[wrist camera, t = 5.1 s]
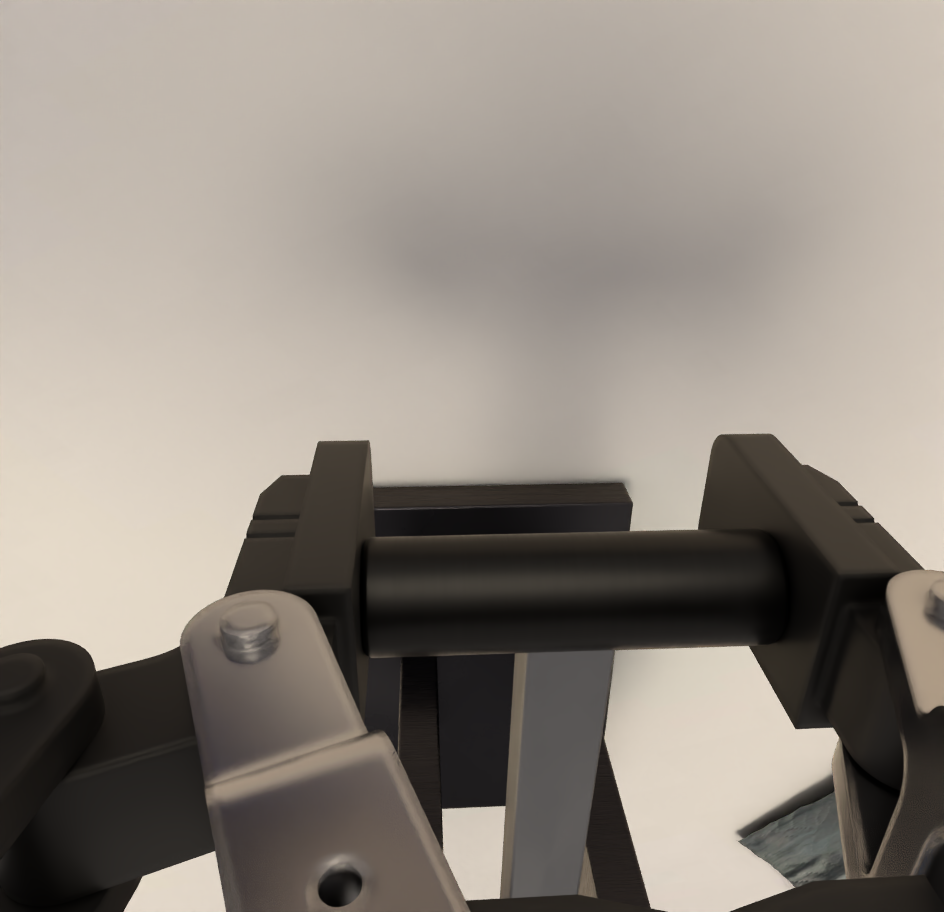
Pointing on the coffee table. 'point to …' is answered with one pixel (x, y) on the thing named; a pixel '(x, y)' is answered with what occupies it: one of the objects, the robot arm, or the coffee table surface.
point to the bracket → (491, 673)
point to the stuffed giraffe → (803, 843)
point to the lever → (565, 645)
